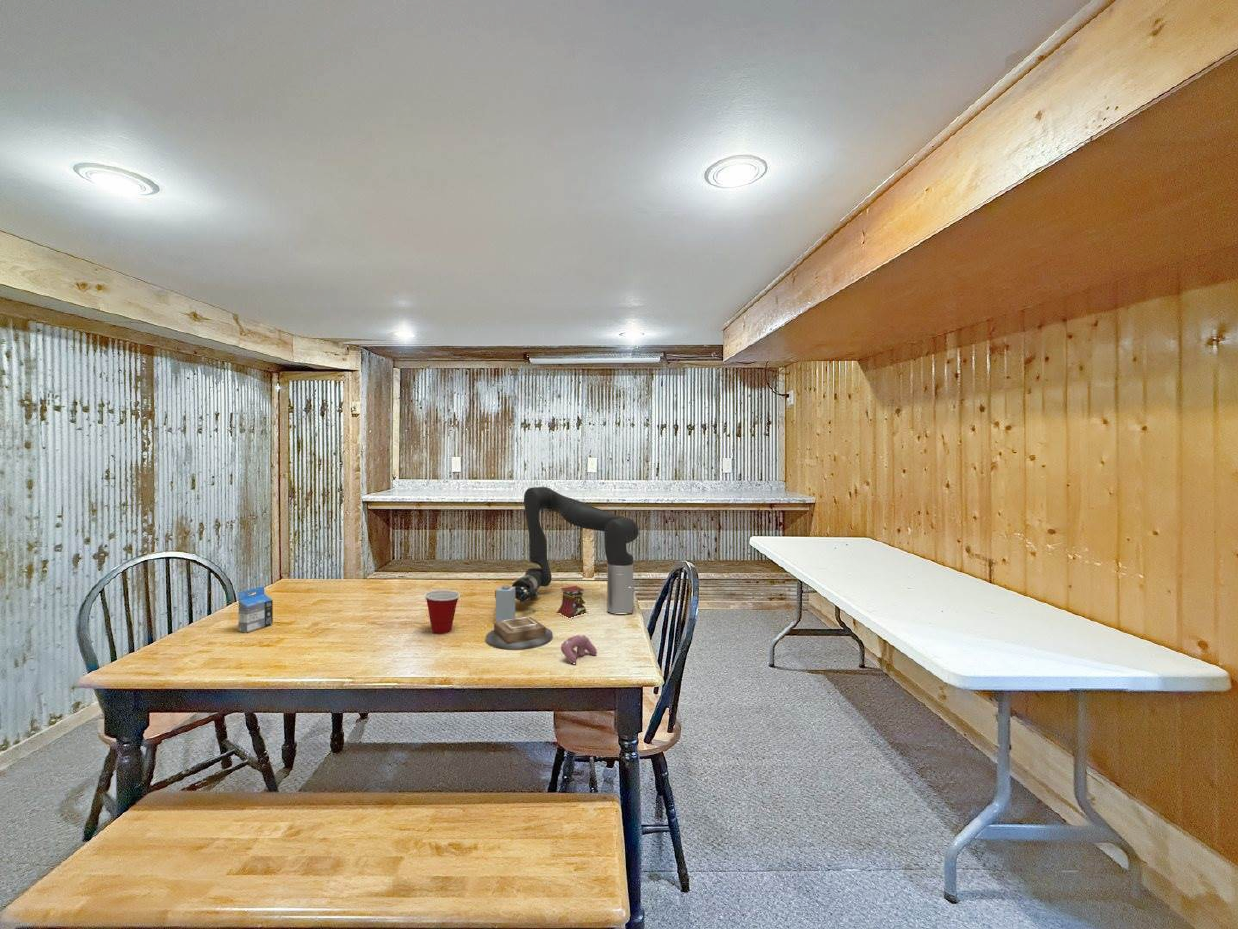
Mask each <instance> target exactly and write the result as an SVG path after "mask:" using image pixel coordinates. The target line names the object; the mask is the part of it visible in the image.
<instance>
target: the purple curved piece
mask: <svg viewBox="0 0 1238 929" xmlns="http://www.w3.org/2000/svg"><path fill="white" fill-rule="evenodd" d="M575 648H576V649H575ZM560 649H561V652H562V655H564V656H565V658H566V659H567V661H568V662H569V663H570V664H571V663H576V664H577V657H578V655H579V657H582V655H583V656H584V655H585V654H586V651H587V652H588V653H589V654H590V655H592V654H593V655H592V656H594V655H595V656H597V653H598V651H597V648H596V647H595V645H594V644H593V643H592V642H591V640H590V639H589V638H588V637H587V636H586V635H585V634H583V635H578V634H577V635H574V636H570V637H569V638H567V639H566V640H565V641H563V643H562V644H561V646H560Z"/></svg>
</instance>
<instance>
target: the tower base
mask: <svg viewBox="0 0 1238 929" xmlns="http://www.w3.org/2000/svg"><path fill="white" fill-rule="evenodd" d="M553 634H554V633H553V631H552V630H551V629H549V628H548V627H546V626H544V625H543V624H541V623H540V622H539V621H537V620H536V619H535V618H533V617H531V616H524V617H515V619H509V620H503V621H501V622H496V621H495V622H494V623H493V629H492V630H490V631H489V632H487V634H486V635H485V642H486V644H487V645H488V646H490V645H491V646H490V647H492V646H493V647H492V648H495V647H496V648H495V649H500V650H507V651H508V650H509V651H516V650H519V651H521V650H529V649H534V648H535V649H536V648H539V647H541V645H542V646H544V645H543V644H545V645H546V644H548V643H550V642H551V641H552V640H553V636H554V635H553ZM551 639H552V640H551ZM538 646H539V647H538Z"/></svg>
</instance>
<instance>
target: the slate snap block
mask: <svg viewBox="0 0 1238 929" xmlns="http://www.w3.org/2000/svg"><path fill="white" fill-rule="evenodd" d="M509 619H516V598H515V587H511V586H510V585H507V584H506V585H505V584H504V585H501V586H500V587H498V588H497V589H496V598H495V623H496V622H501V621H503V620H509Z"/></svg>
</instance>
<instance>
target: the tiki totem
mask: <svg viewBox="0 0 1238 929" xmlns="http://www.w3.org/2000/svg"><path fill="white" fill-rule="evenodd" d="M561 591H562V599H561V605H560V607H559V609H558V610H557V611H556V614H557V613H561V614H562V615H564V616H566V617H568V618H571V617H574V616H577V615H581V614H584V613H587V614H588V612H587V609H586V606H585V604H586V602H585V600H584V599H583V598H582V597H583V594H584V591H585V590H584V588H582V587H580V586H577V585H574V586H566V587H561Z"/></svg>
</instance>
